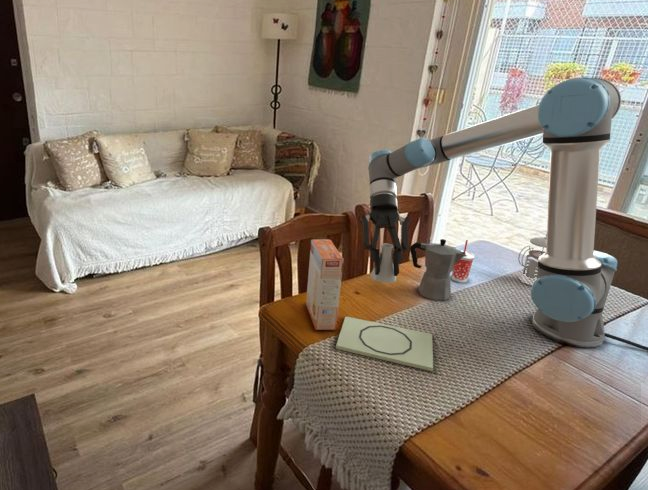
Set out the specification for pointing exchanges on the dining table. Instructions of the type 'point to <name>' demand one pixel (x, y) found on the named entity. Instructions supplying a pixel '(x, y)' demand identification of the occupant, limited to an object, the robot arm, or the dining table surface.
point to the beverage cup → (463, 267)
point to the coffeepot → (436, 268)
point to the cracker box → (324, 284)
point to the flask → (385, 266)
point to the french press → (535, 254)
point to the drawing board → (386, 343)
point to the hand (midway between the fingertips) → (387, 273)
